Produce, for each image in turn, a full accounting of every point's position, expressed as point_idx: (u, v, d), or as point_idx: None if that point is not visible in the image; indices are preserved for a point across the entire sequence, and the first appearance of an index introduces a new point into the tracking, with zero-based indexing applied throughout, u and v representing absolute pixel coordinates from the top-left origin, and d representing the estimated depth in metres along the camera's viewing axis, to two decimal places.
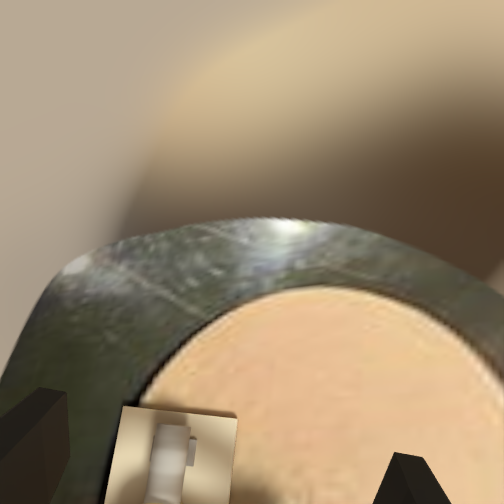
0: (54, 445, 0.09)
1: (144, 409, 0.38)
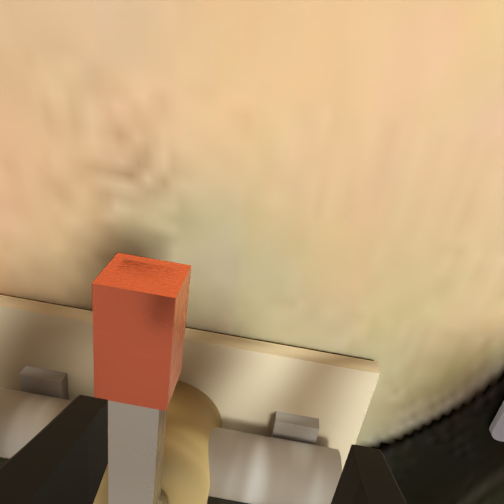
0: (96, 453, 0.09)
1: None
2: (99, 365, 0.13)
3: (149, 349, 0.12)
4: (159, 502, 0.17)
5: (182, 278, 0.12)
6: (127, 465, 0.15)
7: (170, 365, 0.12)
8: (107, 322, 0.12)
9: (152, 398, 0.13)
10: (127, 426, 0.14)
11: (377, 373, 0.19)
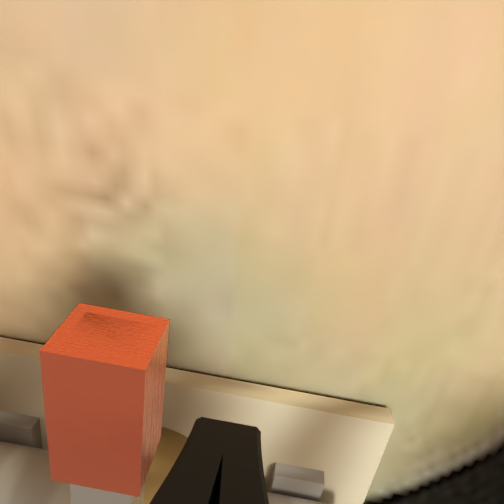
0: None
1: None
2: (54, 444, 0.10)
3: (115, 428, 0.10)
4: None
5: (156, 338, 0.10)
6: None
7: (142, 446, 0.10)
8: (61, 396, 0.09)
9: (121, 482, 0.10)
10: None
11: (391, 424, 0.17)
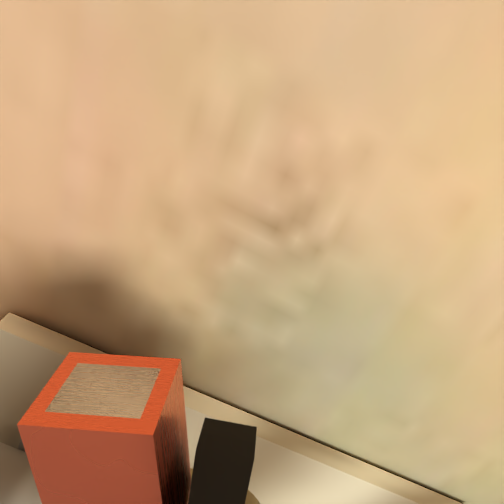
0: None
1: None
2: None
3: None
4: None
5: (166, 387, 0.08)
6: None
7: None
8: (55, 476, 0.07)
9: None
10: None
11: None
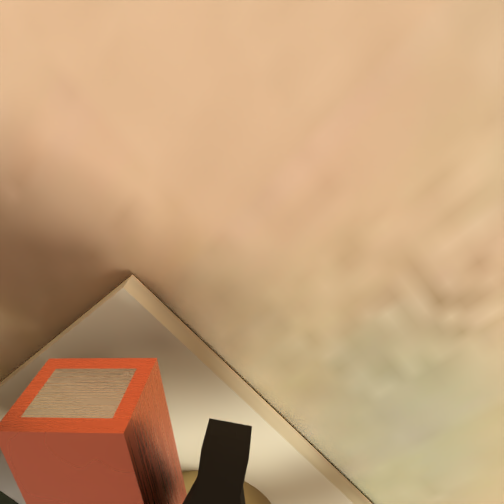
0: None
1: None
2: None
3: None
4: None
5: (140, 386, 0.08)
6: None
7: None
8: (37, 480, 0.08)
9: None
10: None
11: None
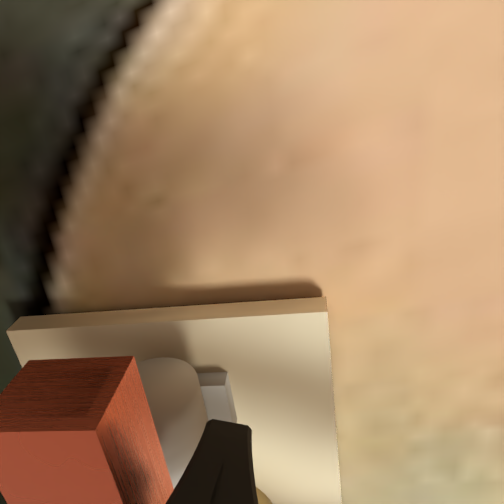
0: None
1: (62, 330, 0.14)
2: None
3: None
4: None
5: (115, 383, 0.08)
6: None
7: None
8: (16, 480, 0.08)
9: None
10: None
11: None
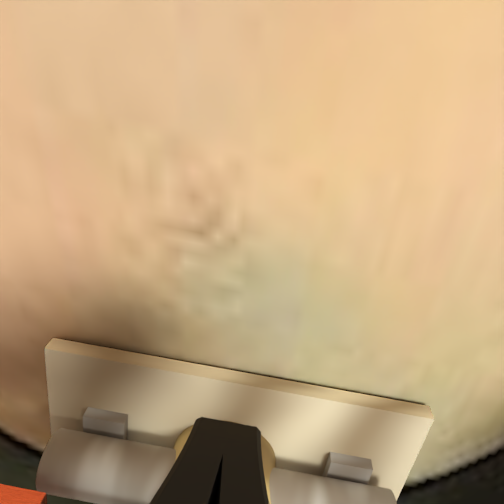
0: None
1: None
2: None
3: None
4: None
5: None
6: None
7: None
8: None
9: None
10: None
11: (431, 418, 0.20)
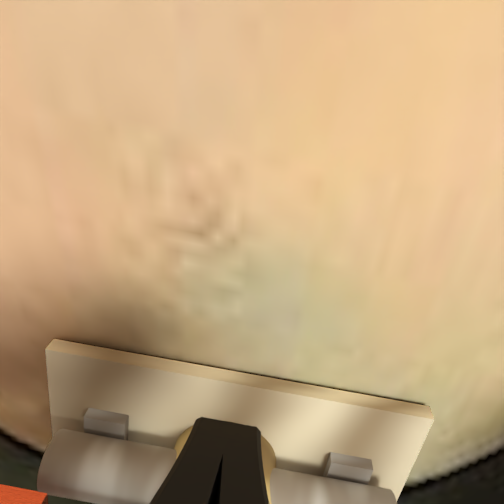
0: None
1: None
2: None
3: None
4: None
5: None
6: None
7: None
8: None
9: None
10: None
11: (431, 419, 0.20)
